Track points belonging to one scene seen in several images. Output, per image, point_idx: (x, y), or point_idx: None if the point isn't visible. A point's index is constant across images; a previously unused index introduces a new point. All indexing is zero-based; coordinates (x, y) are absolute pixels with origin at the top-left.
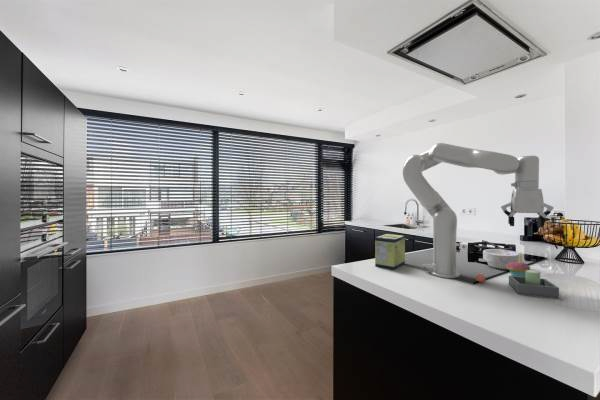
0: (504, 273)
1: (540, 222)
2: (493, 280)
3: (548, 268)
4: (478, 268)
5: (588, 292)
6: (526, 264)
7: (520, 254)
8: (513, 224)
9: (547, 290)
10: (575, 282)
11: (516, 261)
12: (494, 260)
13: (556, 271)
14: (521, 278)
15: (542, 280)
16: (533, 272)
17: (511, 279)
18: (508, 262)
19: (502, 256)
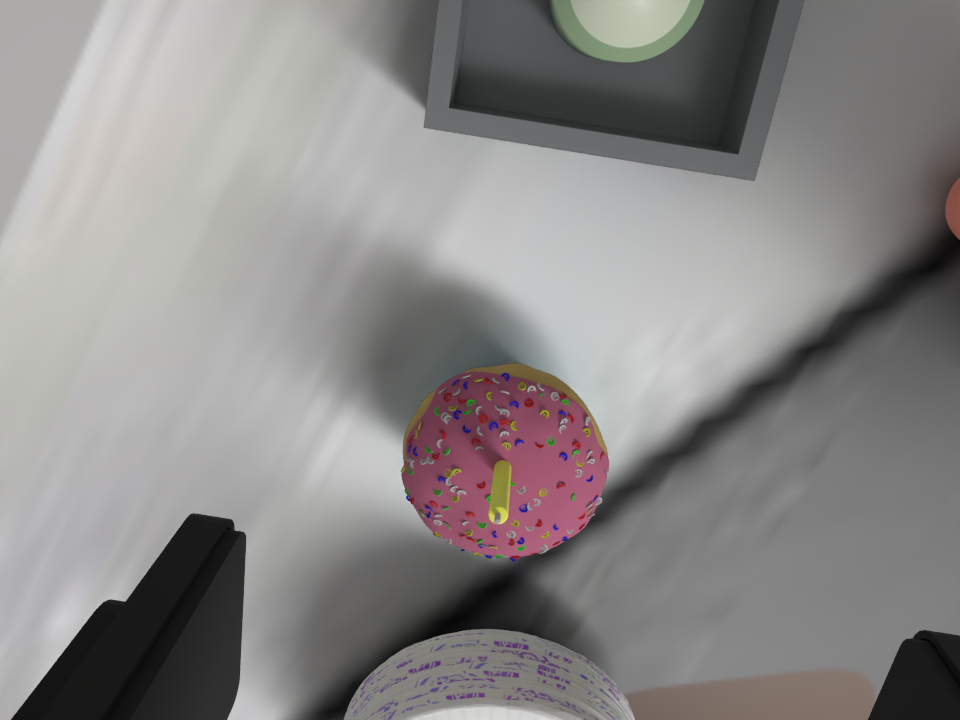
0: None
1: (192, 649)
2: (796, 287)
3: None
4: (727, 634)
5: (111, 88)
6: (437, 458)
7: (504, 507)
8: (957, 665)
9: None
10: (83, 361)
11: (407, 668)
12: (600, 689)
13: None
14: (645, 140)
15: (460, 110)
16: None
17: (775, 83)
18: (490, 647)
19: (544, 700)
